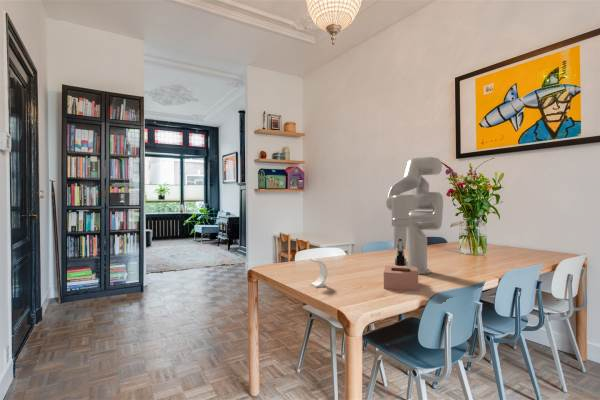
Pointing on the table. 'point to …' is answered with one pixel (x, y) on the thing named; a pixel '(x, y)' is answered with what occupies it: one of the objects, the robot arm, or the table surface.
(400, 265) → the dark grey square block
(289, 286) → the table surface
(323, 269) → the headphone stand
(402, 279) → the coin box
